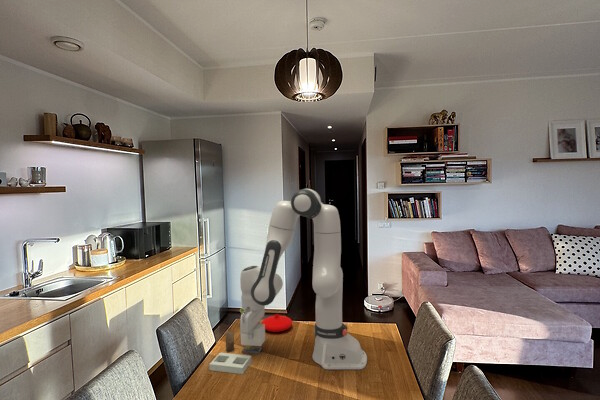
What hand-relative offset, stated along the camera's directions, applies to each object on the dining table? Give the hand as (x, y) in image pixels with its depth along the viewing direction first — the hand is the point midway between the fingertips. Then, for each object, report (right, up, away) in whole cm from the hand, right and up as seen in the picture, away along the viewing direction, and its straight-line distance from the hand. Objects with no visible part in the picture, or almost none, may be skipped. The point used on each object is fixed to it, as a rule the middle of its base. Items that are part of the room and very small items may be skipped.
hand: (254, 334), depth 141 cm
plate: (-1, -7, 0) cm, 7 cm away
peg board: (-8, -8, -11) cm, 16 cm away
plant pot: (-6, -7, +26) cm, 28 cm away
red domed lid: (+8, -7, +23) cm, 25 cm away
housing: (0, -3, 0) cm, 3 cm away
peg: (-11, -7, +2) cm, 13 cm away
